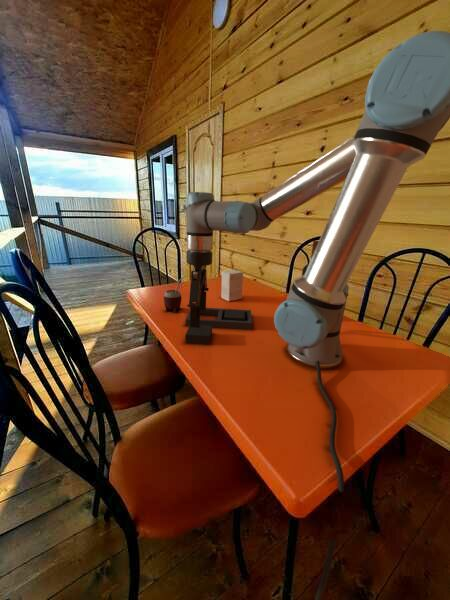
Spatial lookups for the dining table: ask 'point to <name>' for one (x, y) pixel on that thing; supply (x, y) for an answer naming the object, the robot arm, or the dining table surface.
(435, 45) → the robot arm
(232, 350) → the dining table surface
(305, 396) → the dining table surface
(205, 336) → the pad
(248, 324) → the frame
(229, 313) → the pad
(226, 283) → the small box
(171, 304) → the mate gourd
